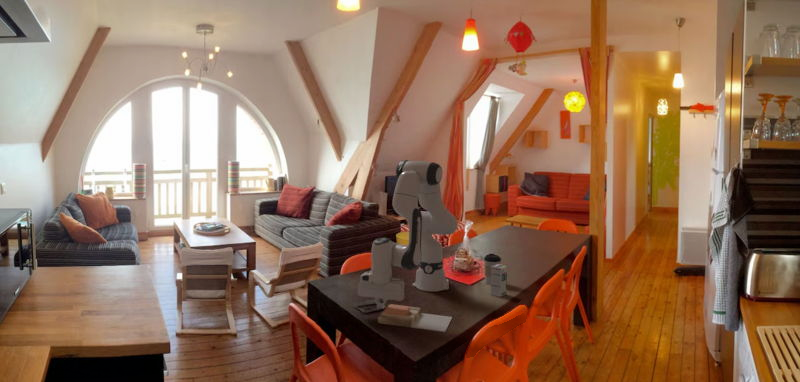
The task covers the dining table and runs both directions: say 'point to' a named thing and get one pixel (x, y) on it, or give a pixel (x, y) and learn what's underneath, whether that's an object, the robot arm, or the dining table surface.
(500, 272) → the syrup box
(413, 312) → the beige square slab
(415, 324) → the mat
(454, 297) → the dining table surface
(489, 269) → the coffee cup
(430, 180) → the robot arm
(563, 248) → the dining table surface
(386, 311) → the pink flat block
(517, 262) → the dining table surface
